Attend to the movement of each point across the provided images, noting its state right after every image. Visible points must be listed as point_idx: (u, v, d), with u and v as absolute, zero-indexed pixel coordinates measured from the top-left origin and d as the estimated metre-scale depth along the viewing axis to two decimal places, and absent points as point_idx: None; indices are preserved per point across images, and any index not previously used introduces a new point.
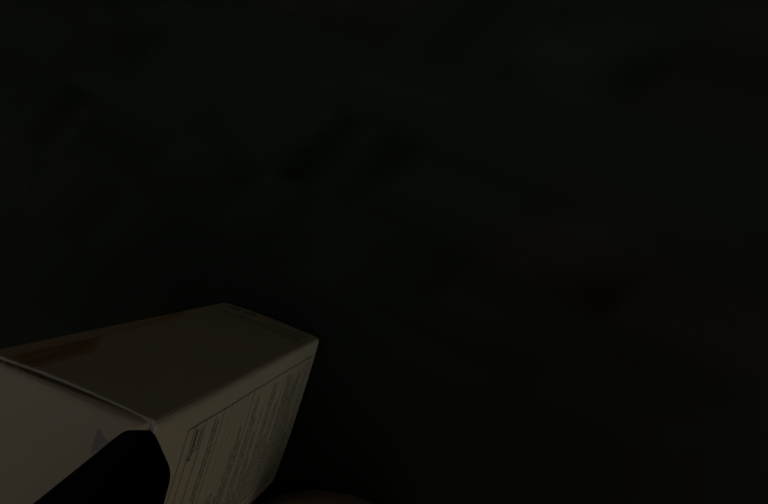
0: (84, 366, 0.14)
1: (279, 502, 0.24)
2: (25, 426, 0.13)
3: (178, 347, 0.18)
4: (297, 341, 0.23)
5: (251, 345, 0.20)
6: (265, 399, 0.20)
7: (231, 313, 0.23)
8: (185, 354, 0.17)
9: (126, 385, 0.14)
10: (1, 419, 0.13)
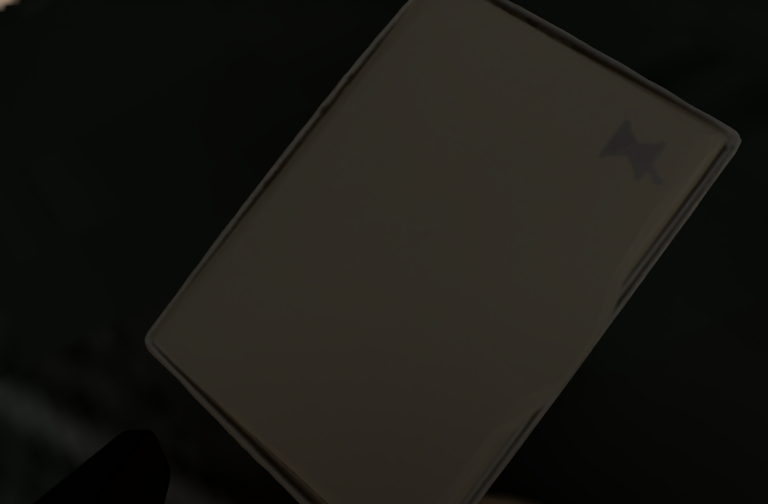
0: None
1: (491, 494, 0.17)
2: (480, 88, 0.08)
3: None
4: None
5: None
6: None
7: None
8: None
9: None
10: (437, 70, 0.08)
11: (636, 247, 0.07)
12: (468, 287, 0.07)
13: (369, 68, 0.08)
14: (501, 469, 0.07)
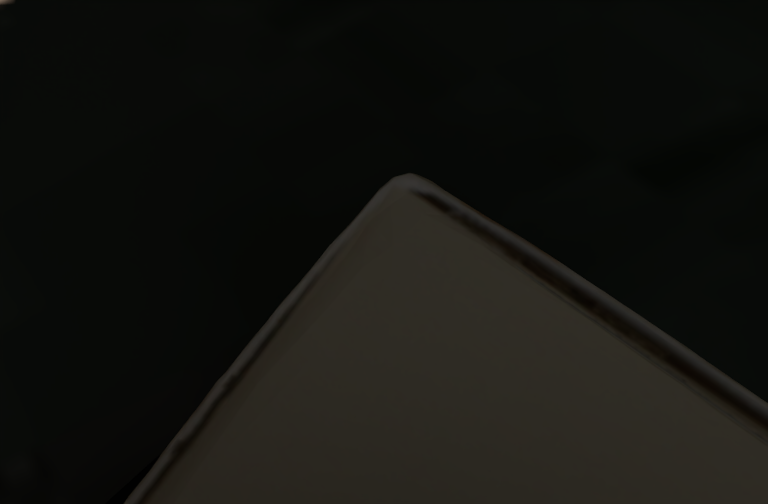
0: None
1: None
2: (482, 450, 0.04)
3: None
4: None
5: None
6: None
7: None
8: None
9: None
10: (394, 395, 0.04)
11: None
12: None
13: (266, 368, 0.04)
14: None
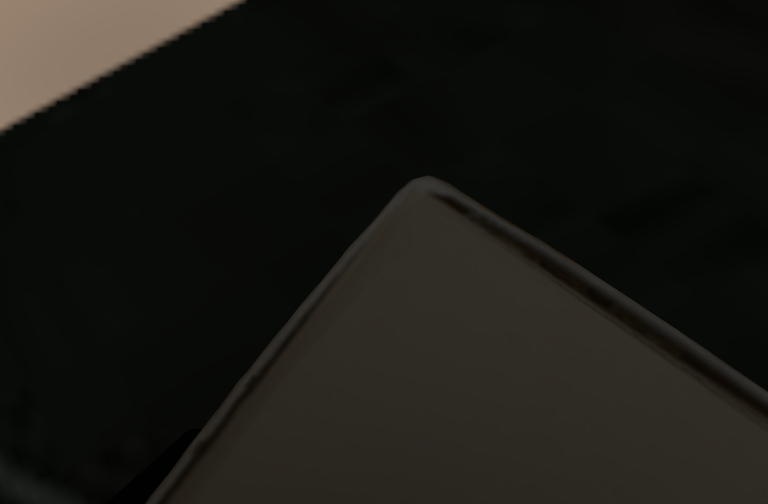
0: None
1: None
2: (502, 447, 0.04)
3: None
4: None
5: None
6: None
7: None
8: None
9: None
10: (416, 394, 0.04)
11: None
12: None
13: (287, 368, 0.04)
14: None
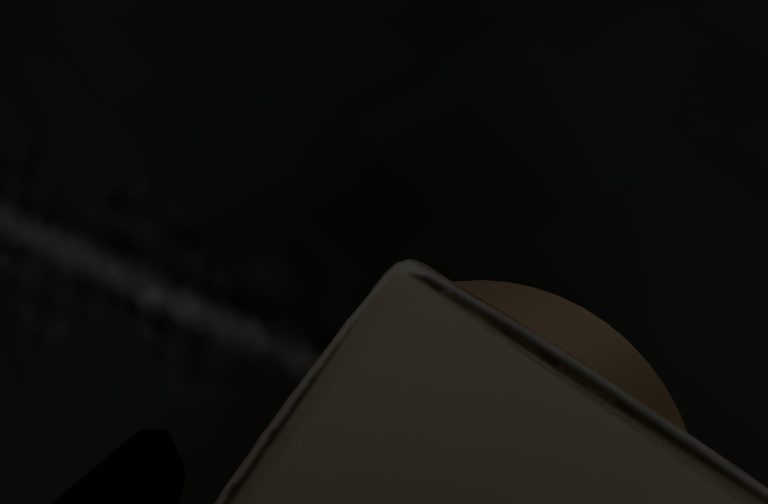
0: None
1: None
2: (475, 482, 0.05)
3: None
4: None
5: None
6: None
7: None
8: None
9: None
10: (405, 440, 0.05)
11: None
12: None
13: (301, 421, 0.05)
14: None
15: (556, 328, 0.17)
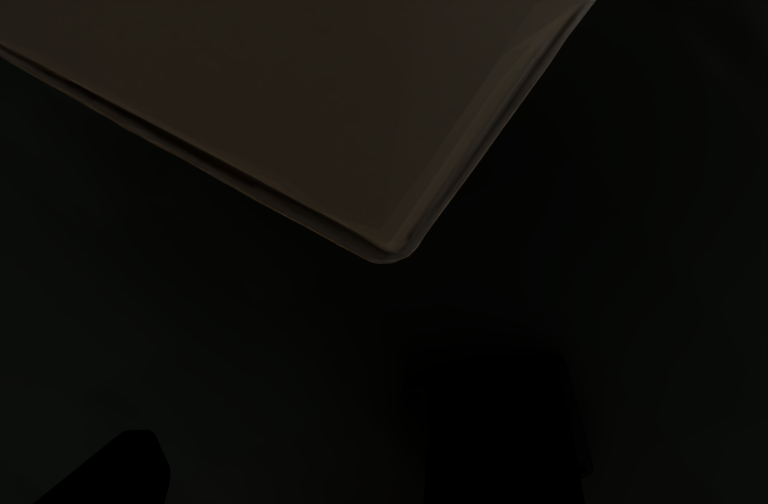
0: None
1: None
2: None
3: None
4: None
5: None
6: None
7: None
8: None
9: None
10: None
11: None
12: None
13: None
14: (516, 107, 0.04)
15: None
